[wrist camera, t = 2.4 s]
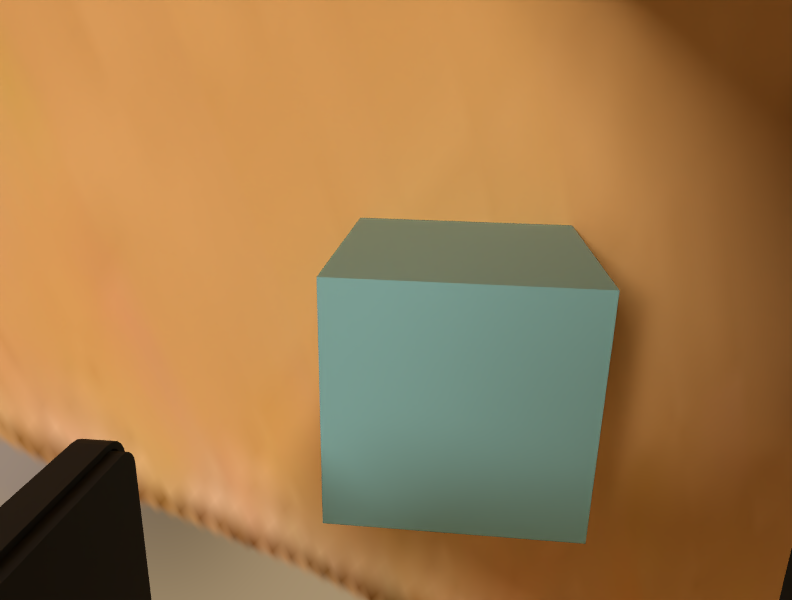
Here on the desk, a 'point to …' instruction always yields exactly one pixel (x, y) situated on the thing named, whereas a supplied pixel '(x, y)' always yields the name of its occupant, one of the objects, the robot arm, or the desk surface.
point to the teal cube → (463, 377)
